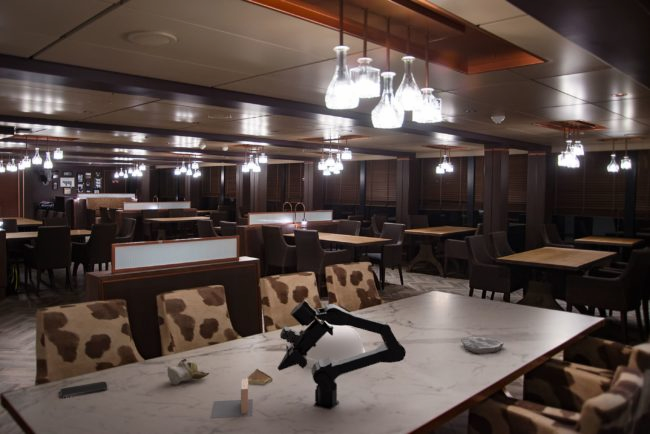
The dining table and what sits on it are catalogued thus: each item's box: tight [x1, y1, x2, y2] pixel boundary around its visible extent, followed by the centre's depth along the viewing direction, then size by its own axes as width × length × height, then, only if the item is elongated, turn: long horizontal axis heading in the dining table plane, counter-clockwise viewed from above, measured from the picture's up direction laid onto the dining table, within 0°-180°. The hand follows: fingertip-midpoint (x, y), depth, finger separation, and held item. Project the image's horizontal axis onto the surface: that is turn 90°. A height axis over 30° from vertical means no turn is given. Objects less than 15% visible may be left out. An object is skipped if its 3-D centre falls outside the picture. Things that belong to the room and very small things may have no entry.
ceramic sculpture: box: [167, 358, 210, 386], centre depth 189 cm, size 11×9×15 cm
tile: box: [240, 378, 249, 414], centre depth 164 cm, size 2×9×8 cm, turn 7°
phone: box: [59, 381, 108, 398], centre depth 179 cm, size 8×1×15 cm
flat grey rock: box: [460, 336, 504, 355], centre depth 230 cm, size 20×17×3 cm
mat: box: [210, 398, 254, 419], centre depth 164 cm, size 13×13×1 cm
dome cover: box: [304, 323, 366, 369], centre depth 215 cm, size 32×30×14 cm
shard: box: [246, 368, 274, 386], centre depth 191 cm, size 13×9×2 cm
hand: (278, 369), depth 165 cm, fingers closed
